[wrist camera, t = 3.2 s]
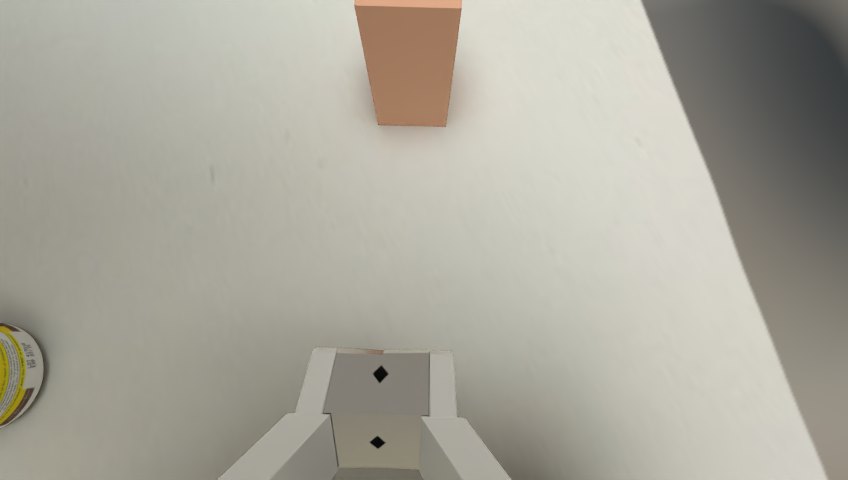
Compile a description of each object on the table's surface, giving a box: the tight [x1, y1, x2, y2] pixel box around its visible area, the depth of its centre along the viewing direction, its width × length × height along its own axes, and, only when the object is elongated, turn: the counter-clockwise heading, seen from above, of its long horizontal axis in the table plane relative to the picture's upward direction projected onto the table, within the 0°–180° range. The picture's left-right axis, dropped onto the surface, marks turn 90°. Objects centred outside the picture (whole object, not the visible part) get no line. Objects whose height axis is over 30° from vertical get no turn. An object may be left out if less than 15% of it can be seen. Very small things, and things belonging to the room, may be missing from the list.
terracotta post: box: [354, 0, 462, 127], centre depth 22 cm, size 4×4×10 cm
